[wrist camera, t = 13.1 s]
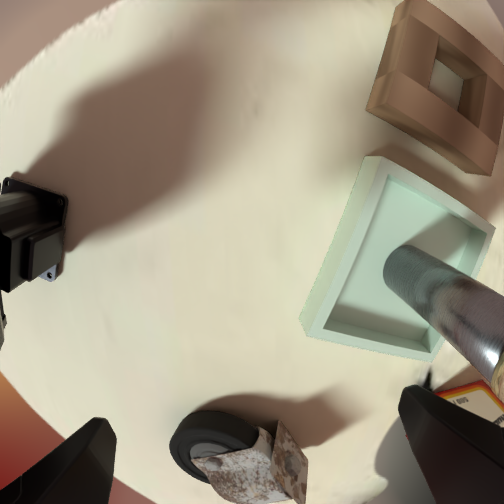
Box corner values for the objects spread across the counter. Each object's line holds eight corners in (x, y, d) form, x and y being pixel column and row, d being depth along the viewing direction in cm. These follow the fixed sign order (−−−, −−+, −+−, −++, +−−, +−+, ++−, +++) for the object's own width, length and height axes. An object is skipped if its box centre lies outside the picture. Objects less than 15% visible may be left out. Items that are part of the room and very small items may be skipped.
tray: (298, 318, 21) (306, 336, 19) (364, 156, 18) (381, 155, 16) (418, 347, 23) (431, 362, 21) (476, 221, 20) (495, 227, 18)
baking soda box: (482, 379, 26) (555, 460, 11) (461, 418, 28) (519, 498, 12) (426, 395, 25) (501, 503, 10) (405, 435, 27) (460, 537, 12)
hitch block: (365, 110, 18) (386, 102, 15) (395, 7, 15) (414, -8, 12) (465, 173, 19) (490, 176, 16) (486, 74, 17) (508, 69, 14)
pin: (371, 286, 20) (489, 407, 8) (394, 234, 19) (543, 317, 7) (411, 299, 21) (523, 404, 8) (433, 252, 20) (566, 331, 7)
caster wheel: (170, 407, 26) (260, 379, 24) (229, 477, 27) (313, 458, 25) (140, 450, 20) (245, 431, 17) (214, 520, 21) (311, 509, 18)
